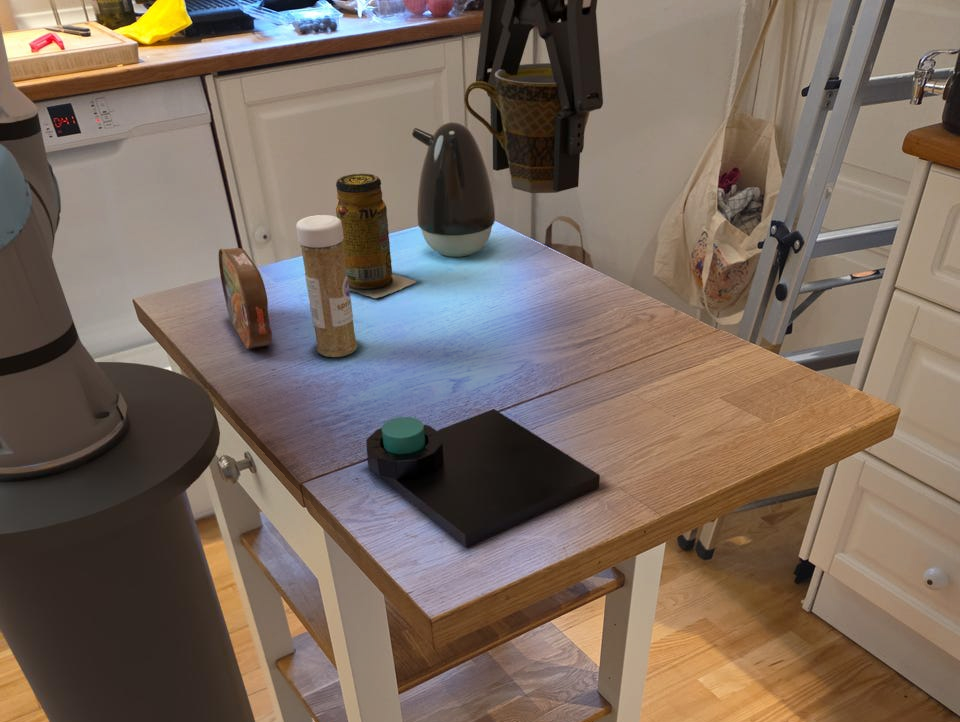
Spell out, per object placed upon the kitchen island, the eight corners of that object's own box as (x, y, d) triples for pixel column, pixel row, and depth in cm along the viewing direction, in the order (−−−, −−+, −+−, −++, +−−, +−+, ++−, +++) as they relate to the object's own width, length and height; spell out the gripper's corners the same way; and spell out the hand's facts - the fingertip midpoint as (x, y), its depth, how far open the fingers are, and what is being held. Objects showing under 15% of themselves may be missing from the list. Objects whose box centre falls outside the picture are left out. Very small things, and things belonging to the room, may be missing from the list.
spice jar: (358, 356, 95) (341, 226, 86) (316, 360, 95) (294, 229, 86) (357, 339, 98) (340, 211, 89) (316, 342, 98) (295, 214, 89)
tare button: (376, 443, 76) (373, 425, 75) (410, 430, 78) (409, 412, 77) (398, 460, 74) (396, 441, 73) (433, 446, 76) (432, 428, 74)
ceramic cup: (585, 170, 96) (592, 62, 89) (594, 198, 89) (602, 82, 82) (466, 172, 96) (464, 64, 89) (465, 200, 89) (463, 85, 82)
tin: (226, 312, 105) (209, 239, 99) (251, 307, 106) (236, 234, 100) (253, 362, 95) (236, 283, 89) (281, 356, 96) (266, 278, 90)
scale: (356, 468, 78) (352, 438, 76) (489, 417, 84) (488, 388, 82) (458, 551, 69) (456, 519, 67) (599, 487, 75) (601, 456, 73)
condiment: (371, 268, 115) (360, 167, 106) (417, 283, 110) (409, 178, 102) (329, 285, 111) (314, 181, 102) (375, 301, 106) (363, 194, 98)
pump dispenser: (433, 235, 123) (425, 111, 113) (504, 240, 121) (503, 114, 111) (407, 260, 116) (396, 130, 106) (482, 266, 114) (478, 134, 103)
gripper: (662, -105, 71) (634, 194, 86) (497, -110, 84) (498, 150, 99) (593, -100, 68) (577, 210, 83) (432, -106, 81) (444, 162, 96)
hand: (534, 177), depth 91 cm, fingers closed on ceramic cup, 9 cm apart
